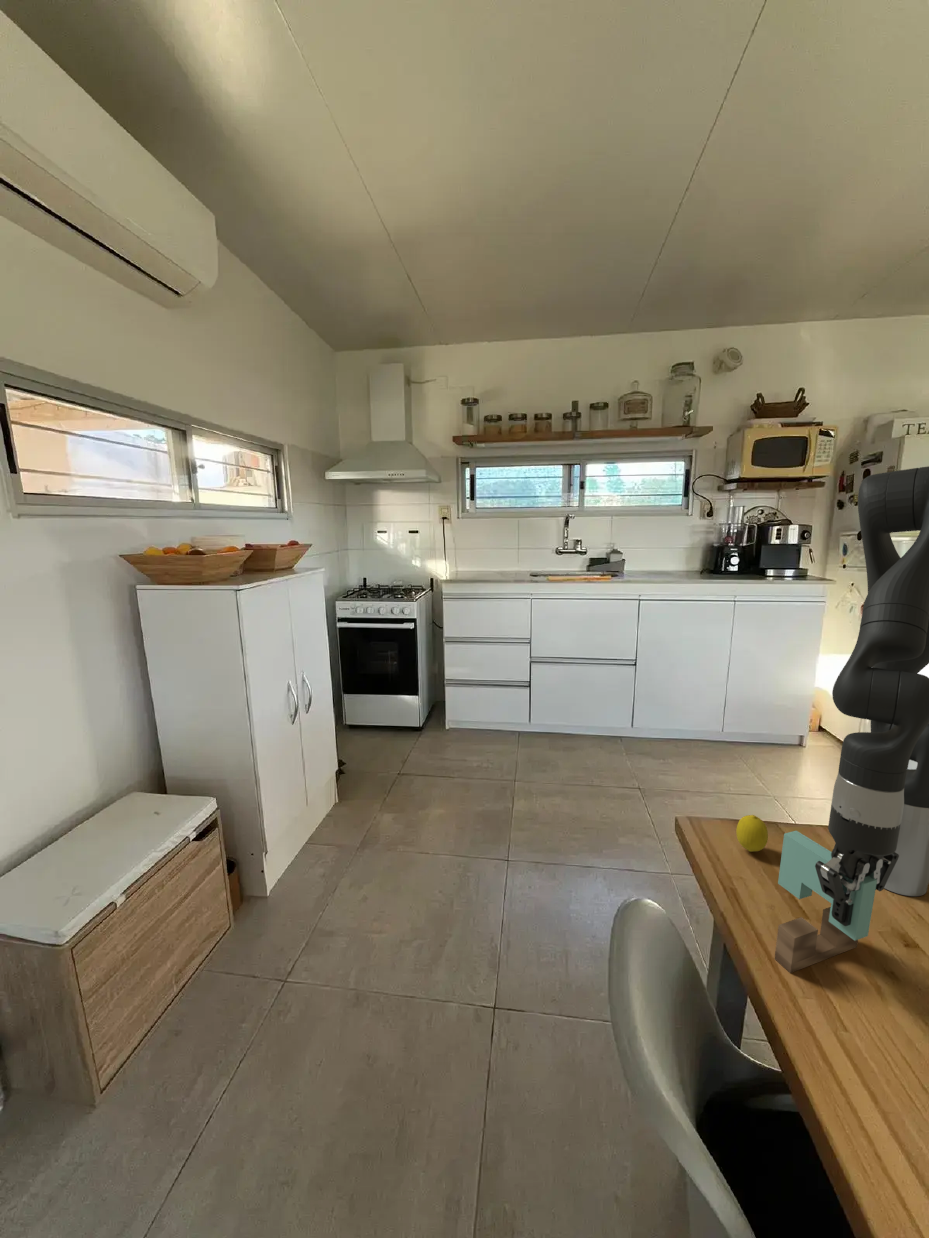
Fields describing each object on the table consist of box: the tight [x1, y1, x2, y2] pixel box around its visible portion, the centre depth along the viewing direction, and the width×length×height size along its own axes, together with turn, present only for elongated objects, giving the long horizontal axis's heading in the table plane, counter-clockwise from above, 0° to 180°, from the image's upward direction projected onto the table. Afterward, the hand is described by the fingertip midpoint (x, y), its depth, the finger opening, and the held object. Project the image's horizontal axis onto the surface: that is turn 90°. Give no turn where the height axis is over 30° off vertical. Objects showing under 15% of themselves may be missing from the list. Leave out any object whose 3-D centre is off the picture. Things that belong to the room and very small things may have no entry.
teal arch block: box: [777, 830, 877, 941], centre depth 75 cm, size 12×3×9 cm, turn 18°
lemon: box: [735, 814, 769, 853], centre depth 100 cm, size 6×6×8 cm
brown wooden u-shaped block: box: [774, 906, 859, 974], centre depth 77 cm, size 14×3×6 cm, turn 108°
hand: (848, 918), depth 72 cm, fingers closed on teal arch block, 2 cm apart
